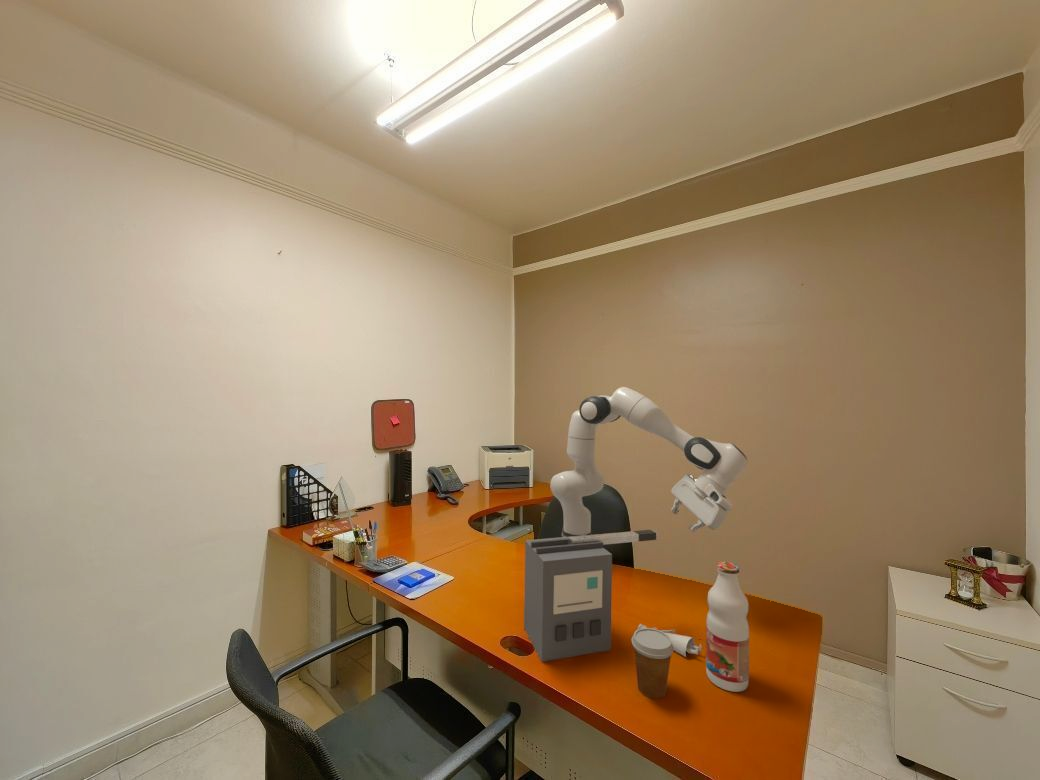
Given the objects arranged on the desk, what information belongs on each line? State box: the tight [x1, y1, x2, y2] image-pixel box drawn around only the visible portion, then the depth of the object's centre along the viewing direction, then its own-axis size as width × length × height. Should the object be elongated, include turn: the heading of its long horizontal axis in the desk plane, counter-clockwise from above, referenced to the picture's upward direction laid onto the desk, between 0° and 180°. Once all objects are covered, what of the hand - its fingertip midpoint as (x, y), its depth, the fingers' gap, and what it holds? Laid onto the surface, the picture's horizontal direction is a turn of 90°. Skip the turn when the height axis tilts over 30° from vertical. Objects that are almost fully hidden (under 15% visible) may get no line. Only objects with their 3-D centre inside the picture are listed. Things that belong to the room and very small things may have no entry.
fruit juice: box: [705, 561, 750, 693], centre depth 101 cm, size 9×9×28 cm
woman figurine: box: [637, 623, 703, 658], centre depth 115 cm, size 12×4×18 cm
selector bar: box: [568, 529, 659, 546], centre depth 122 cm, size 3×28×2 cm, turn 106°
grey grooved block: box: [523, 535, 613, 663], centre depth 117 cm, size 17×20×27 cm
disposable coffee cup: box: [630, 627, 674, 699], centre depth 97 cm, size 10×10×12 cm
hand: (681, 521), depth 135 cm, fingers open, 8 cm apart
